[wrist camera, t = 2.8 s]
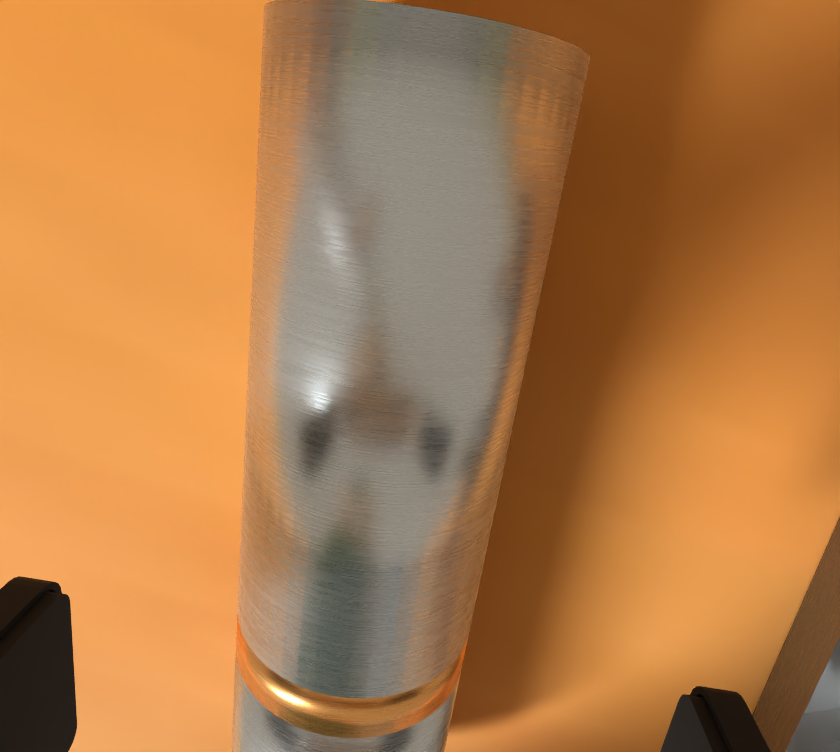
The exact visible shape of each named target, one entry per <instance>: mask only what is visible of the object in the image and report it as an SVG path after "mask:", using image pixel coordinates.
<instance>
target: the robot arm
mask: <svg viewBox="0 0 840 752" xmlns="http://www.w3.org/2000/svg"><path fill="white" fill-rule="evenodd" d="M76 729H77V716H76V698H75V681H74V663H73V645H72V627H71V609H70V599H69V597H68V595H66V594H62V592H61V587H60V586H59V584H58V583H56V582H51V581H45V580H38V579H32V578H26V577H20V576H19V577H16V578H13V579H12V580H11V581H9V582H8V583H7V584H6V585H5V586H3V587H2V588H1V589H0V752H68V751H69V749H70V747H71V745H72V743H73V740H74V737H75V734H76ZM661 752H771V751H770V749H769V747H768V745H767V743H766V741H765V739H764V738H763V736H762V734H761V732H760V730H759V728H758V726H757V724H756V722H755V720H754V718H753V716H752V714H751V712H750V711H749V709H748V707H747V705H746V703H745V701H744V700H743V698H742V697H741V695H739V694H738V693H737V692H732V691H726V690H720V689H714V688H707V687H701V686H696V687H695V688H694V689H693V690H692V692H691V694H690V695H682V696H681V697H680V699H679V702H678V704H677V707H676V710H675V713H674V715H673V718H672V721H671V724H670V727H669V729H668V732H667V735H666V738H665V740H664V743H663V746H662V749H661Z"/></svg>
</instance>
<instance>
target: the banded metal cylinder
mask: <svg viewBox="0 0 840 752" xmlns="http://www.w3.org/2000/svg"><path fill="white" fill-rule="evenodd" d="M589 63H590V56H589V54H588V53H587V52H586V51H584V50H583V49H581V48H579V47H578V46H575V45H573V44H571V43H569V42H567V41H564V40H561V39H558V38H556V37H553V36H550V35H547V34H543V33H540V32H537V31H534V30H530V29H526V28H522V27H518V26H515V25H511V24H506V23H502V22H498V21H493V20H489V19H484V18H479V17H474V16H469V15H464V14H459V13H453V12H447V11H442V10H436V9H429V8H423V7H416V6H409V5H401V4H393V3H385V2H376V1H365V0H275V1H272V2H269V3H267V4H266V5H265V6H264V24H263V47H262V70H261V92H260V115H259V138H258V161H257V183H256V206H255V229H254V251H253V274H252V297H251V319H250V342H249V365H248V387H247V410H246V433H245V456H244V478H243V501H242V524H241V546H240V569H239V592H238V614H237V637H236V660H235V682H234V705H233V728H232V751H231V752H444V751H445V746H446V741H447V736H448V732H449V727H450V722H451V717H452V713H453V708H454V703H455V698H456V694H457V689H458V684H459V679H460V675H461V670H462V665H463V660H464V656H465V651H466V646H467V641H468V637H469V632H470V627H471V622H472V618H473V613H474V608H475V603H476V599H477V594H478V589H479V584H480V580H481V575H482V570H483V565H484V561H485V556H486V551H487V546H488V542H489V537H490V532H491V528H492V523H493V518H494V513H495V509H496V504H497V499H498V494H499V490H500V485H501V480H502V475H503V471H504V466H505V461H506V456H507V452H508V447H509V442H510V437H511V433H512V428H513V423H514V418H515V414H516V409H517V404H518V399H519V395H520V390H521V385H522V380H523V376H524V371H525V366H526V361H527V357H528V352H529V347H530V342H531V338H532V333H533V328H534V323H535V319H536V314H537V309H538V305H539V300H540V295H541V290H542V286H543V281H544V276H545V271H546V267H547V262H548V257H549V252H550V248H551V243H552V238H553V233H554V229H555V224H556V219H557V214H558V210H559V205H560V200H561V195H562V191H563V186H564V181H565V176H566V172H567V167H568V162H569V157H570V153H571V148H572V143H573V138H574V134H575V129H576V124H577V119H578V115H579V110H580V105H581V100H582V96H583V91H584V86H585V82H586V77H587V72H588V67H589Z"/></svg>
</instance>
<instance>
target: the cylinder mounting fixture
mask: <svg viewBox="0 0 840 752" xmlns="http://www.w3.org/2000/svg"><path fill="white" fill-rule="evenodd" d="M753 718H754V720H755V722H756V724H757V726H758V728H759V730H760V732H761V734H762V736H763V738H764V739H765V741H766V743H767V745H768V747H769V749H770V751H771V752H840V518H839V520H838V522H837V525H836V527H835V529H834V532H833V534H832V536H831V538H830V541H829V543H828V545H827V547H826V550H825V552H824V554H823V557H822V559H821V561H820V563H819V566H818V568H817V570H816V572H815V575H814V577H813V579H812V582H811V584H810V586H809V588H808V591H807V593H806V595H805V597H804V600H803V602H802V604H801V607H800V609H799V611H798V613H797V616H796V618H795V620H794V622H793V625H792V627H791V629H790V632H789V634H788V636H787V638H786V641H785V643H784V645H783V647H782V650H781V652H780V654H779V657H778V659H777V661H776V663H775V666H774V668H773V670H772V672H771V675H770V677H769V679H768V682H767V684H766V686H765V688H764V691H763V693H762V695H761V697H760V700H759V702H758V704H757V707H756V709H755V711H754V713H753Z"/></svg>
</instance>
